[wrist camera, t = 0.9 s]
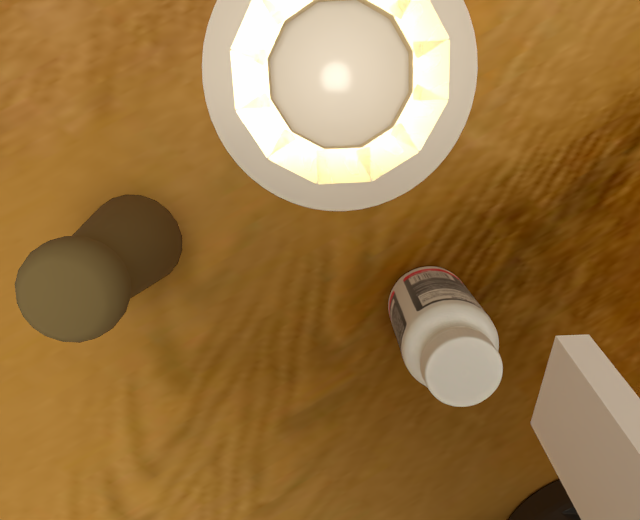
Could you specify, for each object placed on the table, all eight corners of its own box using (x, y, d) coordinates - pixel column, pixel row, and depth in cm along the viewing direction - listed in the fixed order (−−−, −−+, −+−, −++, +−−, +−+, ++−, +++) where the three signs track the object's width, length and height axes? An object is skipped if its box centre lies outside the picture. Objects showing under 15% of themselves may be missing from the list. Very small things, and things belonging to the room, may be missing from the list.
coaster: (526, 14, 32) (531, 11, 31) (390, 250, 36) (391, 254, 35) (277, -135, 30) (276, -141, 29) (162, 135, 34) (159, 136, 33)
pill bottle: (437, 352, 38) (476, 436, 29) (371, 315, 37) (389, 389, 28) (483, 288, 37) (539, 355, 27) (416, 249, 36) (449, 304, 26)
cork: (100, 288, 37) (11, 367, 26) (79, 199, 35) (-25, 245, 24) (189, 279, 36) (136, 355, 26) (173, 189, 35) (109, 231, 24)
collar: (482, 28, 31) (490, 24, 30) (379, 212, 34) (382, 218, 33) (293, -83, 30) (292, -92, 28) (203, 121, 33) (197, 123, 31)
